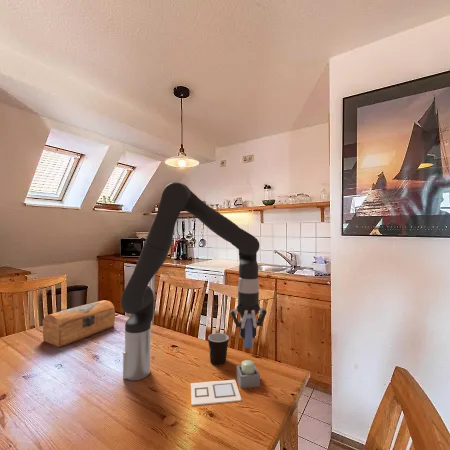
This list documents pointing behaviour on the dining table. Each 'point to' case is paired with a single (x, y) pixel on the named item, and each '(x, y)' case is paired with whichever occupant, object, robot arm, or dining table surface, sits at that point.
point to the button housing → (248, 378)
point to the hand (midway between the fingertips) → (248, 337)
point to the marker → (248, 332)
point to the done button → (247, 367)
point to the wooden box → (78, 323)
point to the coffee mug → (218, 348)
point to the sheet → (214, 392)
